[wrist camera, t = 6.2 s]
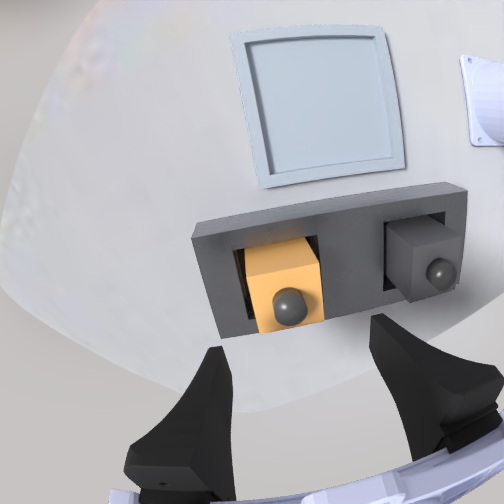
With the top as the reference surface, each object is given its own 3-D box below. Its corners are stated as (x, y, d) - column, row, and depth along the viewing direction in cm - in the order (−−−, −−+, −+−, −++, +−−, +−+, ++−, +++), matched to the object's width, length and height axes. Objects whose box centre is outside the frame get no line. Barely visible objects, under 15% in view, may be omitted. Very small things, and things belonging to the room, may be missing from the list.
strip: (445, 181, 21) (467, 190, 18) (440, 267, 24) (458, 283, 21) (197, 223, 21) (191, 238, 18) (222, 315, 24) (220, 338, 22)
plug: (298, 226, 22) (324, 273, 15) (305, 274, 23) (329, 332, 17) (243, 237, 22) (247, 288, 15) (254, 285, 23) (261, 346, 17)
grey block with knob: (417, 209, 21) (472, 243, 15) (416, 254, 23) (464, 297, 16) (374, 216, 22) (423, 255, 15) (375, 263, 23) (417, 313, 17)
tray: (376, 30, 16) (382, 26, 15) (398, 165, 20) (404, 168, 19) (229, 38, 16) (229, 34, 15) (258, 186, 20) (259, 189, 19)
